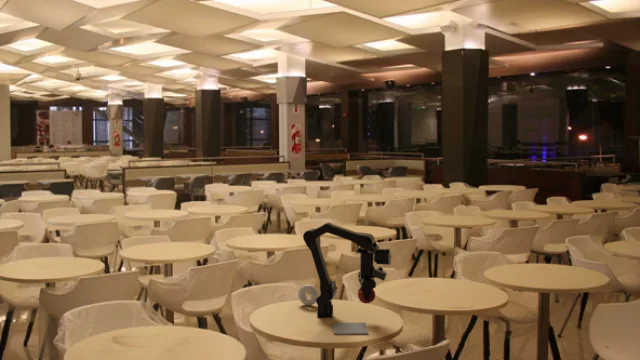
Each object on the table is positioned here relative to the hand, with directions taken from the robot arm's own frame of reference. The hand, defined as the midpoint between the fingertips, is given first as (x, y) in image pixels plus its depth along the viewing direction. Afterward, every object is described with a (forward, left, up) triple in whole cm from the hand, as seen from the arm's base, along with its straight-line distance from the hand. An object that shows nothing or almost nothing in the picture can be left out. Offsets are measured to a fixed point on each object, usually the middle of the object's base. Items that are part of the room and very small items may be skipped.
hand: (366, 298), depth 297 cm
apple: (0, 0, -2) cm, 2 cm away
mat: (-8, -13, -10) cm, 18 cm away
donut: (-25, +22, -10) cm, 35 cm away
